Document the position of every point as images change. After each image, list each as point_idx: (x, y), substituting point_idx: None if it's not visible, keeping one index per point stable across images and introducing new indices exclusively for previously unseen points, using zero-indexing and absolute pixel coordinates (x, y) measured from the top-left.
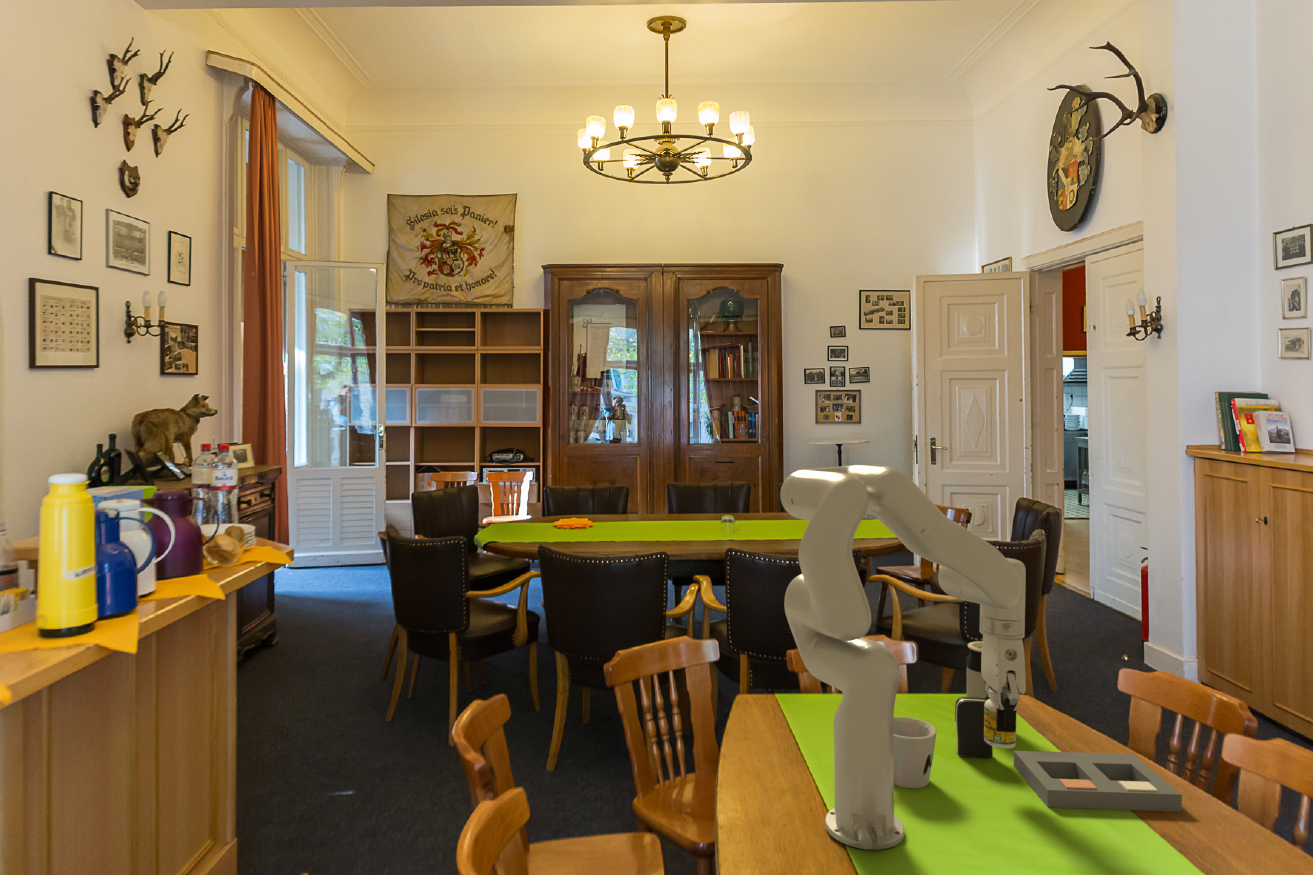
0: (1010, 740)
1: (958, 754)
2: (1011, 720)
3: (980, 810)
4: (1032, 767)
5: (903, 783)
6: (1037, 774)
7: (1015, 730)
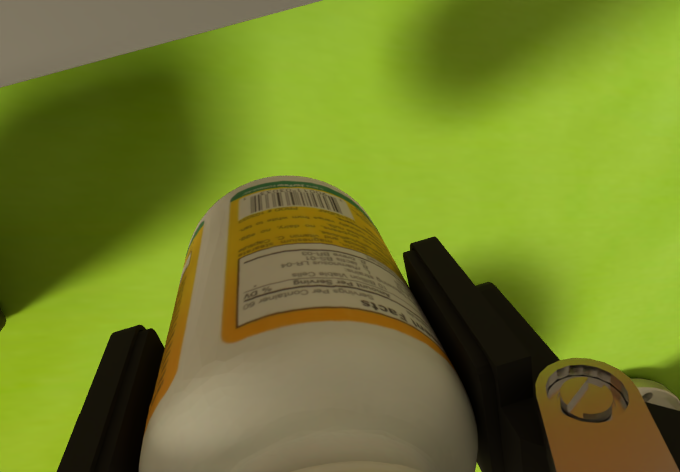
0: (374, 228)
1: (3, 324)
2: (519, 325)
3: (463, 227)
4: (134, 20)
5: None
6: (226, 3)
7: (434, 239)
